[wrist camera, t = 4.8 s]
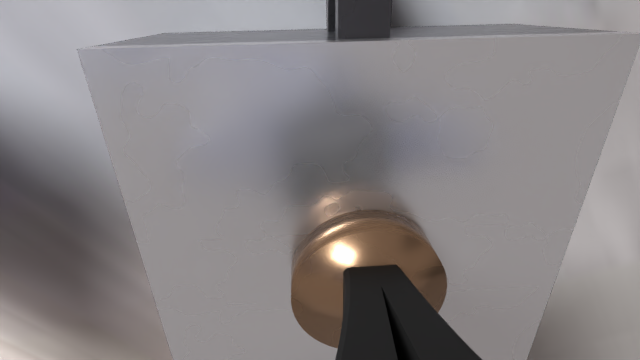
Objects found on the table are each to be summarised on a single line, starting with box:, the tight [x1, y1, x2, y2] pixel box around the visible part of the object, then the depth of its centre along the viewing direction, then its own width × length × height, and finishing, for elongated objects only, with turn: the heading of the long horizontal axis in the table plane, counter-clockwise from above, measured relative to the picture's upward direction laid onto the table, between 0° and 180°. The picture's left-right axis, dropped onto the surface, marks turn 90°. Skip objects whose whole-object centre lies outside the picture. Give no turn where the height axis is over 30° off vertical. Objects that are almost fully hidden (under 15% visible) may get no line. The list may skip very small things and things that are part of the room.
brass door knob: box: [291, 210, 447, 348], centre depth 12 cm, size 10×10×6 cm
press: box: [77, 0, 640, 360], centre depth 12 cm, size 12×14×5 cm
